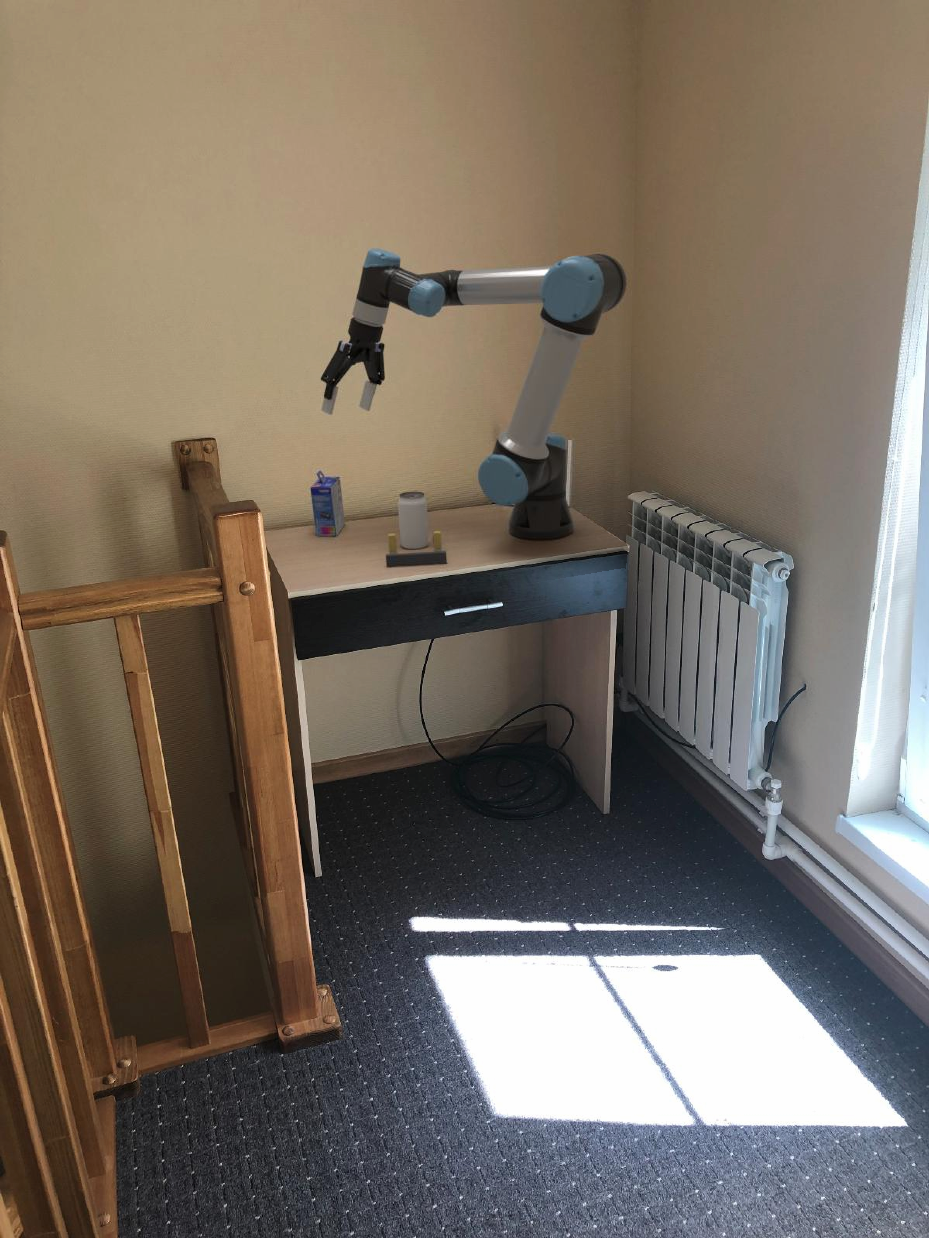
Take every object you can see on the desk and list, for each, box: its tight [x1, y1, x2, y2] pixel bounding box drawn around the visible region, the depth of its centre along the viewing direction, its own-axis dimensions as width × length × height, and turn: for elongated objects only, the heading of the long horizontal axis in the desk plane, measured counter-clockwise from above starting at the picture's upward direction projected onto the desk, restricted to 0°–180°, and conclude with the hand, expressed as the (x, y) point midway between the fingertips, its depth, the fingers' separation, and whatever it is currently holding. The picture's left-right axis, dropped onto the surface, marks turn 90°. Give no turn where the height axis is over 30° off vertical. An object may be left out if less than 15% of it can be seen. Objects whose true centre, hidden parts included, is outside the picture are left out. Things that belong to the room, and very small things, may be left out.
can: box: [397, 490, 430, 550], centre depth 232 cm, size 6×6×12 cm
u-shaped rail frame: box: [385, 530, 448, 568], centre depth 229 cm, size 13×19×5 cm
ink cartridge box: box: [309, 470, 346, 537], centre depth 246 cm, size 10×6×14 cm, turn 174°
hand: (345, 410), depth 239 cm, fingers open, 13 cm apart
